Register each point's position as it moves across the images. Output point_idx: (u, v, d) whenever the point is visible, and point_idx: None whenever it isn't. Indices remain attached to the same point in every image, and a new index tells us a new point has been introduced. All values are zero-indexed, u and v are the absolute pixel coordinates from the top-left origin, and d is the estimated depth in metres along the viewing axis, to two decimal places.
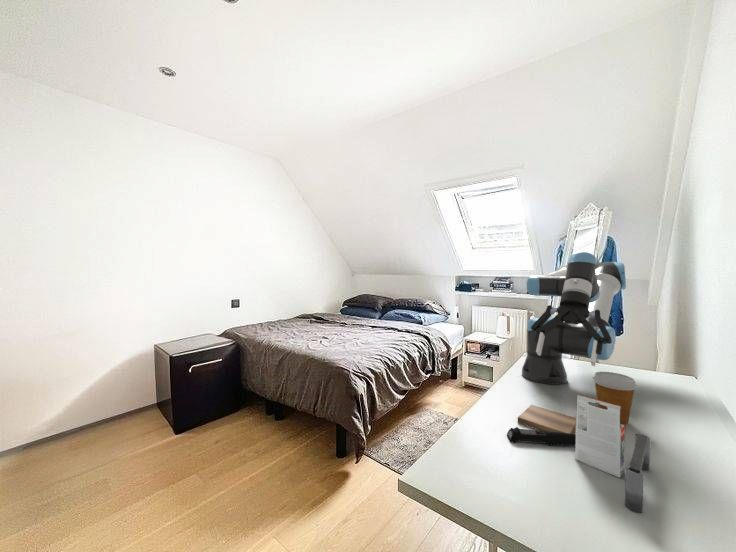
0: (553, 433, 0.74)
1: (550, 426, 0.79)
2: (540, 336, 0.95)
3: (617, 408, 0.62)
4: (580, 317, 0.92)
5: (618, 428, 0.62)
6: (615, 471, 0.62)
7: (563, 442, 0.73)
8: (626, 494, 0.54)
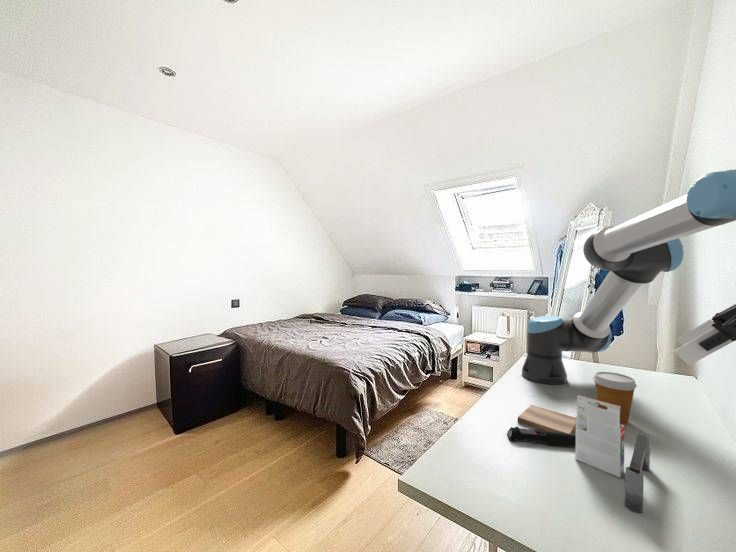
0: (553, 433, 0.74)
1: (550, 426, 0.79)
2: (722, 346, 0.49)
3: (617, 408, 0.62)
4: None
5: (618, 428, 0.62)
6: (615, 471, 0.62)
7: (563, 443, 0.73)
8: (626, 494, 0.54)
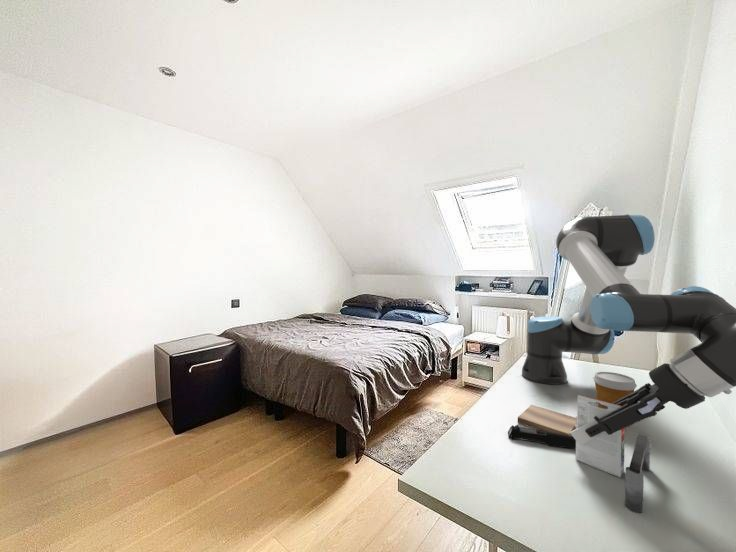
0: (554, 434, 0.74)
1: (550, 426, 0.79)
2: None
3: (617, 408, 0.62)
4: None
5: None
6: (616, 471, 0.62)
7: (564, 444, 0.72)
8: (626, 494, 0.54)
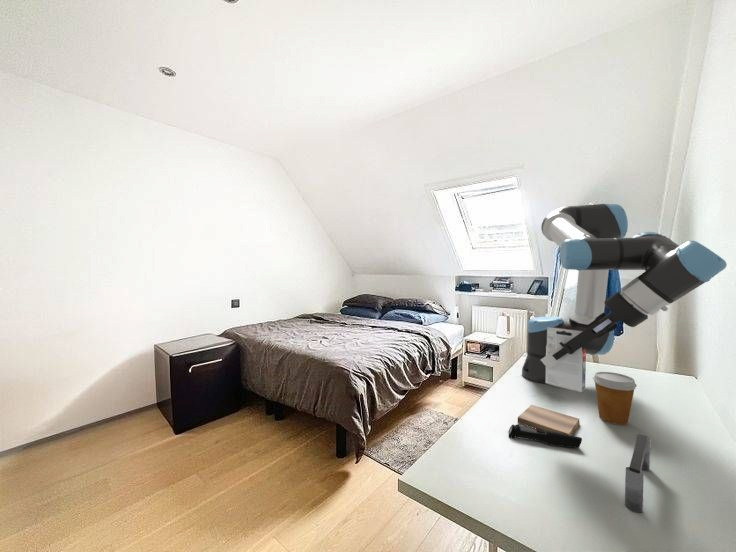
0: (554, 433, 0.74)
1: (550, 426, 0.79)
2: None
3: (579, 333, 0.73)
4: None
5: (580, 350, 0.73)
6: (578, 387, 0.73)
7: (564, 443, 0.72)
8: (626, 494, 0.54)
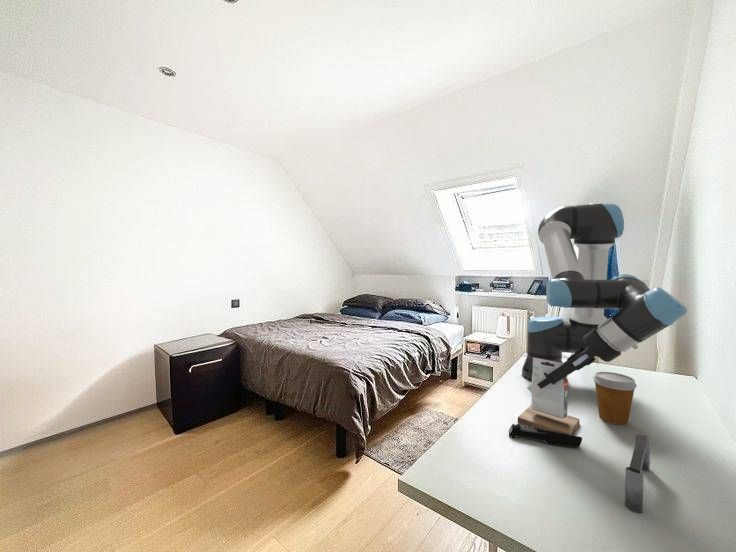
0: (555, 433, 0.74)
1: (550, 426, 0.79)
2: (549, 386, 0.82)
3: None
4: None
5: (562, 380, 0.80)
6: (560, 414, 0.80)
7: (564, 443, 0.73)
8: (626, 494, 0.54)
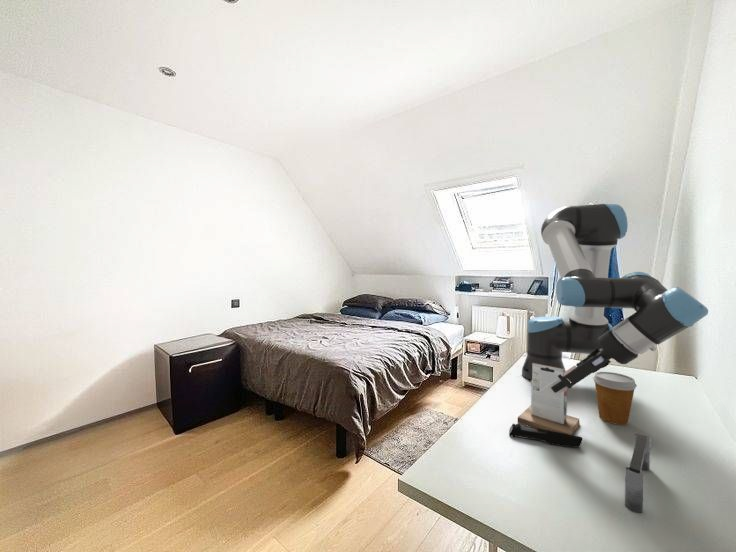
0: (555, 433, 0.74)
1: (550, 426, 0.79)
2: (564, 390, 0.75)
3: (561, 371, 0.80)
4: None
5: None
6: (560, 419, 0.81)
7: (564, 443, 0.73)
8: (626, 494, 0.54)
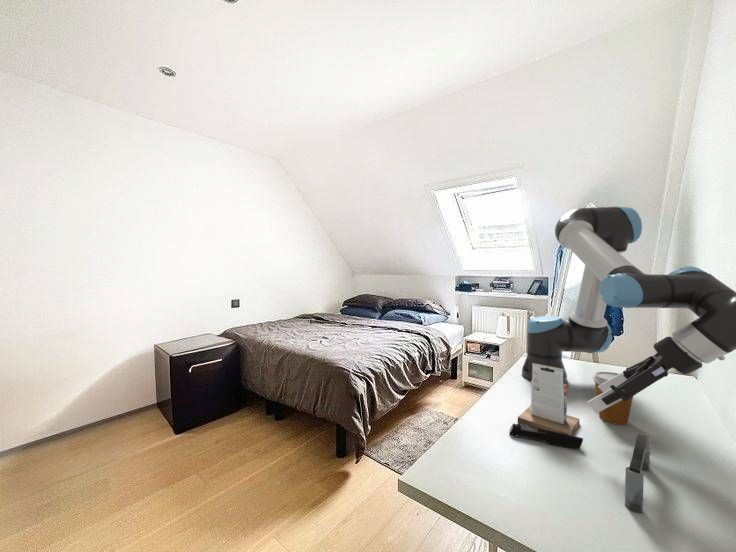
0: (555, 433, 0.74)
1: (550, 426, 0.79)
2: None
3: (561, 371, 0.80)
4: None
5: (562, 386, 0.80)
6: (560, 419, 0.81)
7: (564, 443, 0.72)
8: (626, 494, 0.54)
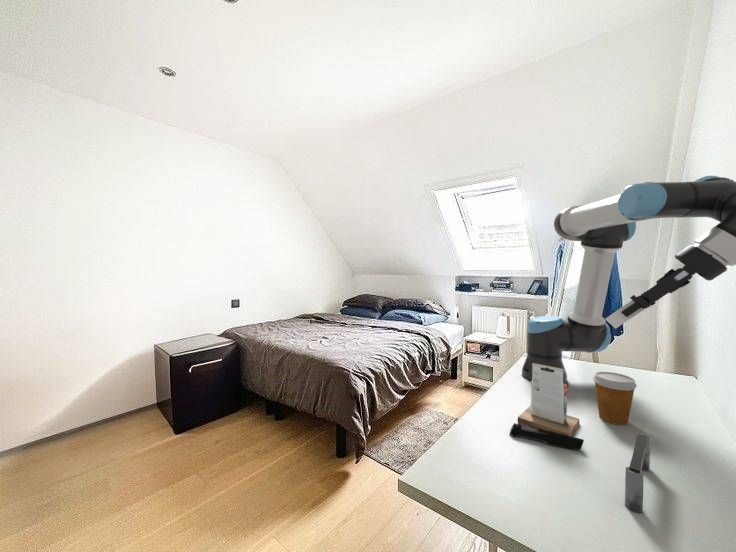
0: (556, 434, 0.74)
1: (550, 426, 0.79)
2: (637, 313, 0.66)
3: (561, 371, 0.80)
4: None
5: (562, 386, 0.80)
6: (560, 419, 0.81)
7: (565, 444, 0.72)
8: (626, 494, 0.54)
